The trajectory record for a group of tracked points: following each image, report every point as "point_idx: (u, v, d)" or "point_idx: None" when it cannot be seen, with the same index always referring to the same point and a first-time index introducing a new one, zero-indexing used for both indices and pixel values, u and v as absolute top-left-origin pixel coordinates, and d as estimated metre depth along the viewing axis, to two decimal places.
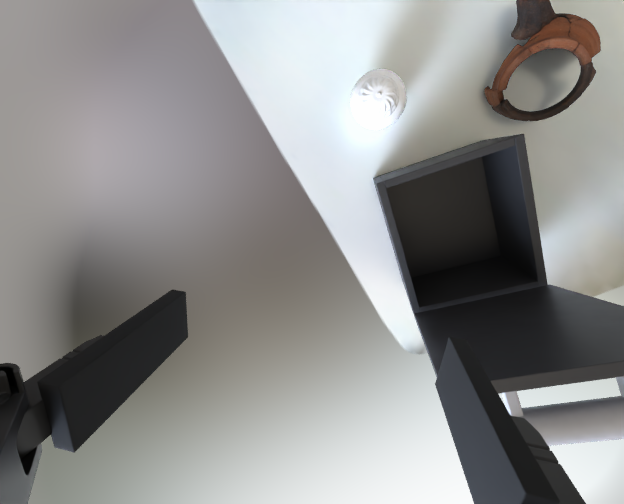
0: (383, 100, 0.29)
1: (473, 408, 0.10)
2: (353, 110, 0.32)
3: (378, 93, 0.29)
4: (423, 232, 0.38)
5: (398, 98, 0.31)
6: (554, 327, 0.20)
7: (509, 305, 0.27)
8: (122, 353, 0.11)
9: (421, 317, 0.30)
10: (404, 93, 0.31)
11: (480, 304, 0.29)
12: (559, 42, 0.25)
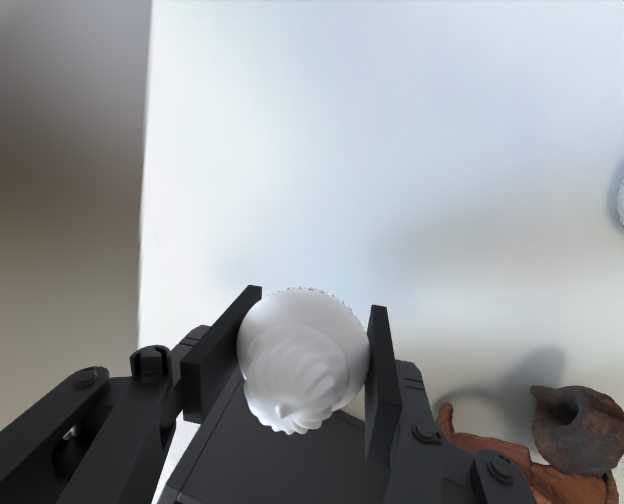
0: (281, 425, 0.10)
1: (372, 355, 0.12)
2: (239, 333, 0.13)
3: (281, 411, 0.10)
4: None
5: None
6: None
7: None
8: (229, 340, 0.12)
9: None
10: (349, 400, 0.12)
11: None
12: None
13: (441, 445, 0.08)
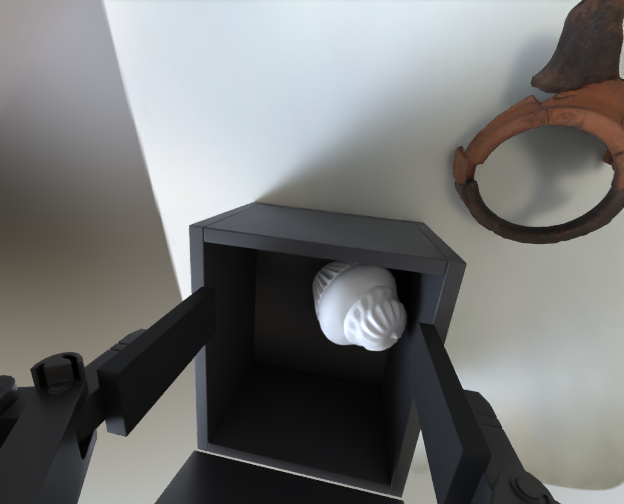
0: (390, 343, 0.17)
1: (432, 383, 0.11)
2: (333, 310, 0.17)
3: (396, 334, 0.17)
4: (293, 311, 0.25)
5: None
6: None
7: None
8: (165, 345, 0.12)
9: (184, 478, 0.17)
10: None
11: (282, 499, 0.16)
12: (602, 125, 0.13)
13: None
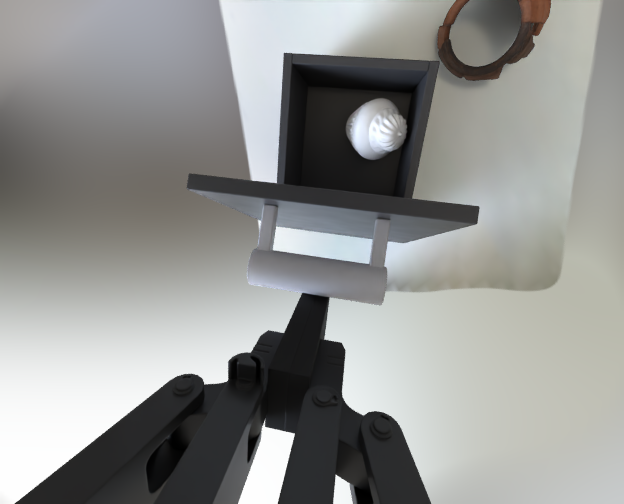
0: (397, 141, 0.29)
1: None
2: (363, 120, 0.29)
3: (400, 132, 0.28)
4: (329, 160, 0.36)
5: None
6: None
7: None
8: None
9: None
10: None
11: None
12: None
13: (337, 405, 0.09)
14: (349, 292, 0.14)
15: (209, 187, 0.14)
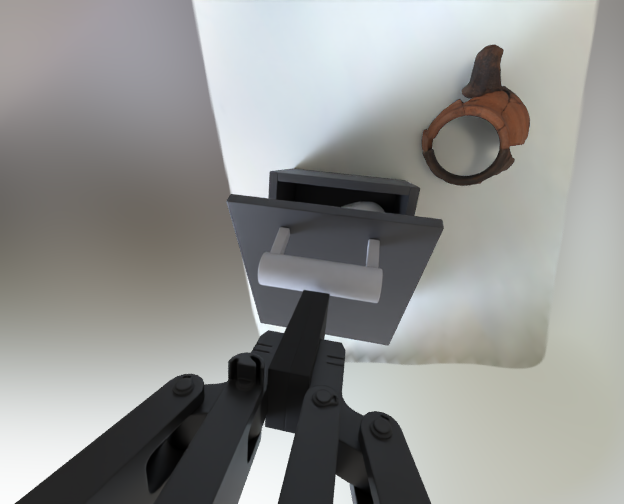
0: None
1: None
2: None
3: None
4: None
5: None
6: None
7: None
8: None
9: None
10: None
11: None
12: (489, 115, 0.24)
13: (337, 405, 0.09)
14: (350, 279, 0.16)
15: (244, 201, 0.19)
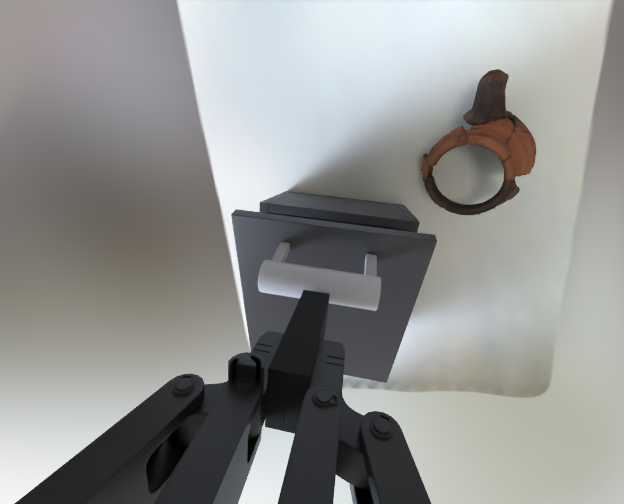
0: None
1: None
2: None
3: None
4: None
5: None
6: None
7: None
8: None
9: None
10: None
11: None
12: (493, 145, 0.23)
13: (337, 405, 0.09)
14: (350, 284, 0.16)
15: (248, 215, 0.20)
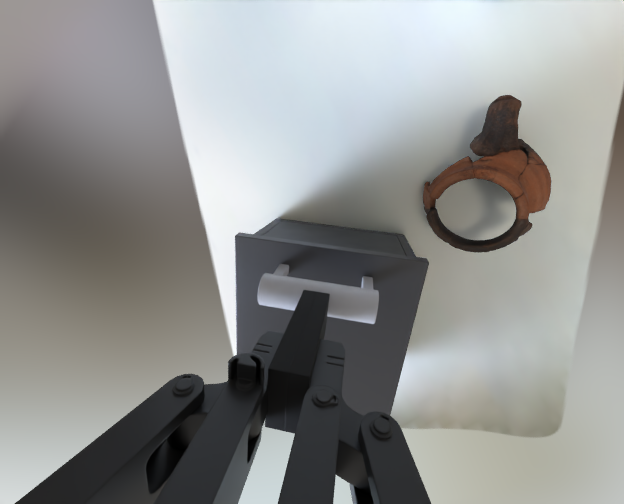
0: None
1: None
2: None
3: None
4: None
5: None
6: None
7: None
8: None
9: None
10: None
11: None
12: (504, 181, 0.20)
13: (337, 405, 0.09)
14: (348, 293, 0.17)
15: (251, 236, 0.21)
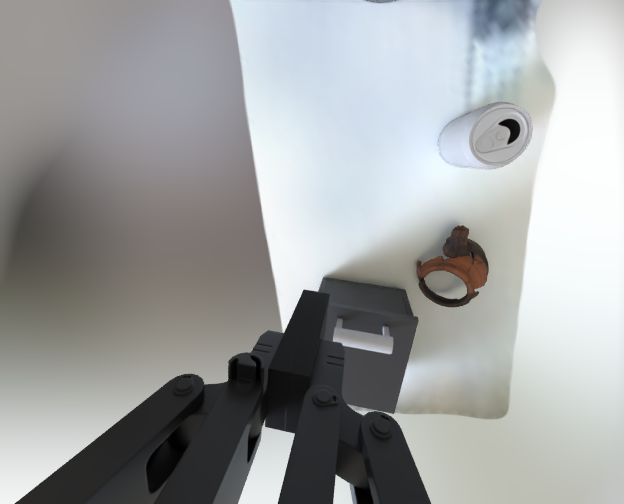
0: None
1: None
2: None
3: None
4: None
5: None
6: None
7: None
8: None
9: None
10: None
11: None
12: (459, 274, 0.38)
13: (337, 405, 0.09)
14: (378, 339, 0.34)
15: None
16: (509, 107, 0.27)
